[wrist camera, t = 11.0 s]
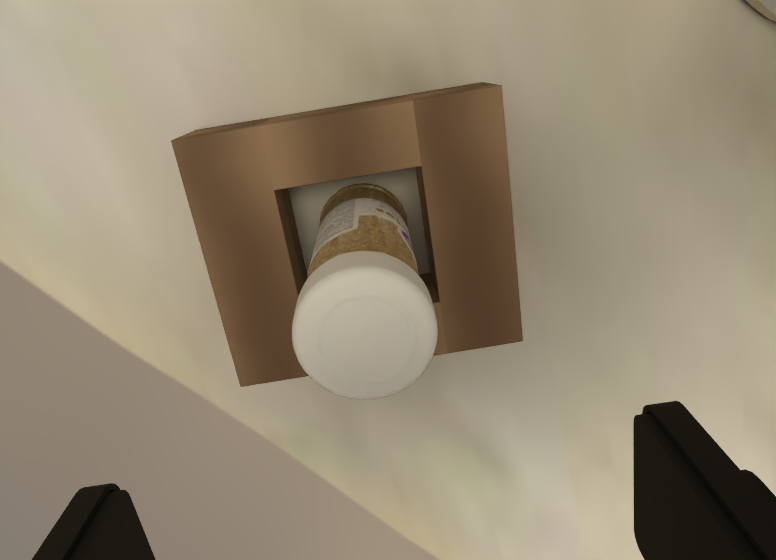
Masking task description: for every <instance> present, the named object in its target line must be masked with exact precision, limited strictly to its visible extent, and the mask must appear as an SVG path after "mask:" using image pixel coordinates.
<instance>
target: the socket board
mask: <svg viewBox="0 0 776 560" xmlns="http://www.w3.org/2000/svg"><path fill="white" fill-rule="evenodd" d="M171 142H172V146H173V149H174V153H175V156H176V160H177V163H178V167H179V170H180V174H181V178H182V181H183V185H184V188H185V192H186V195H187V199H188V202H189V206H190V209H191V213H192V216H193V220H194V224H195V227H196V231H197V234H198V238H199V241H200V245H201V248H202V252H203V255H204V259H205V262H206V266H207V269H208V273H209V277H210V280H211V284H212V287H213V291H214V294H215V298H216V301H217V305H218V308H219V312H220V315H221V319H222V322H223V326H224V330H225V333H226V337H227V340H228V344H229V347H230V351H231V354H232V358H233V361H234V365H235V368H236V372H237V376H238V379H239V383H240V386H241V387H243V386H249V385H255V384H262V383H268V382H274V381H280V380H286V379H292V378H298V377H305V376H309V375H308V374H307V373H306V372H305V371H304V369H303V368H302V366H301V365H300V363H299V361H298V359H297V356H296V353H295V351H294V347H293V342H292V323H293V318H294V312H295V308H296V304H297V300H298V297H299V294H300V292H301V289H302V287H303V285H304V284H305V282H306V280H307V273H306V269H305V264H304V259H303V255H302V250H301V246H300V241H299V237H298V232H297V228H296V223H295V219H294V214H293V209H292V205H291V200H290V196H289V191H288V188H291V187H297V186H303V185H309V184H315V183H321V182H327V181H333V180H339V179H345V178H351V177H357V176H363V175H369V174H375V173H381V172H387V171H393V170H399V169H405V168H411V167H416V174H417V181H418V188H419V196H420V203H421V210H422V217H423V224H424V231H425V239H426V246H427V253H428V260H429V267H430V274H424V275H419V277H420V278H421V279H422V280H423V282H424V283H425V285H426V287H427V289H428V291H429V294H430V297H431V300H432V303H433V306H434V311H435V315H436V320H437V329H438V336H437V343H436V347H435V351H434V354H433V356H434V355H440V354H446V353H452V352H459V351H465V350H471V349H477V348H483V347H489V346H496V345H502V344H508V343H514V342H520V341H523V336H522V324H521V312H520V300H519V288H518V276H517V264H516V252H515V240H514V228H513V216H512V204H511V192H510V180H509V168H508V156H507V144H506V132H505V120H504V108H503V96H502V86H501V85H495V84H490V83H484V82H481V83H475V84H469V85H463V86H457V87H451V88H445V89H439V90H433V91H427V92H421V93H415V94H409V95H403V96H397V97H391V98H385V99H379V100H373V101H367V102H361V103H355V104H349V105H343V106H337V107H331V108H325V109H319V110H313V111H307V112H301V113H295V114H289V115H283V116H277V117H271V118H265V119H259V120H253V121H247V122H241V123H235V124H230V125H224V126H218V127H212V128H206V129H200V130H195V131H193V132H190V133H188V134H186V135H183V136H181V137H179V138H176V139H174V140H172V141H171Z"/></svg>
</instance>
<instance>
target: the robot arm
mask: <svg viewBox="0 0 776 560" xmlns="http://www.w3.org/2000/svg"><path fill="white" fill-rule="evenodd" d="M746 1H747V2H748V3H749V4H750V5H751V6H752V7H753V8H755V9H756V10H757V11H759V12H760V13H762V14H763V15H764V16H766V17H767V18H768V19H770V20H773V21H775V22H776V0H746ZM634 533H635V538H636V542H637V545H638V547H639V550H640V552H641V554H642V556H643V557H644V559H645V560H776V496H775V495H774V494H773V493H772V492H771V491H770V490H769V489H768V488H767V486H766V485H765V484H764V483H763V482H762V481H761V480H760V479H759V478H758V477H757V476H756V475H755V474H754V473H752V472H750V471H748V470H740V469H739V468H738V467H737V466H736V465H735V464H734V462H733V461H732V460H731V459H730V458H729V457H728V456H727V454H726V453H725V452H724V451H723V450H722V449H721V448H720V446H719V445H718V444H717V443H716V442H715V441H714V440H713V439H712V437H711V436H710V435H709V434H708V433H707V432H706V431H705V429H704V428H703V427H702V426H701V425H700V424H699V423H698V421H697V420H696V419H695V418H694V417H693V416H692V415H691V413H690V412H689V411H688V410H687V409H686V408H685V407H684V405H683V404H681V403H680V402H678V401H672V402H665V403H659V404H652V405H646V406H644V408H643V412H642V414H641V415H636V416H635V417H634ZM32 560H155V557H154V555H153V552H152V550H151V547H150V545H149V542H148V540H147V537H146V535H145V532H144V530H143V527H142V525H141V522H140V520H139V517H138V515H137V512H136V510H135V507H134V505H133V503H132V500H131V497H130V496H129V493H128V492H127V491H126V490H120V488H119V487H118V486H117V485H116V484H112V483H111V484H104V485H98V486H91V487H84V488H82V489H80V490H79V491H78V492H77V493H76V494H75V496H74V497H73V498H72V500H71V501H70V503H69V505H68V506H67V508H66V509H65V511H64V512H63V514H62V515H61V517H60V518H59V520H58V521H57V523H56V524H55V526H54V527H53V529H52V530H51V532H50V533H49V535H48V536H47V538H46V539H45V541H44V542H43V544H42V545H41V547H40V548H39V550H38V551H37V553H36V554H35V556H34V557H33V559H32Z"/></svg>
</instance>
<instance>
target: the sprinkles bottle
mask: <svg viewBox="0 0 776 560" xmlns="http://www.w3.org/2000/svg"><path fill="white" fill-rule="evenodd" d="M437 336H438V329H437V320H436V315H435V311H434V306H433V303H432V300H431V297H430V294H429V291H428V289H427V287H426V285H425V283H424V282H423V280H422V279H421V278H420V277H419V275H418V268H417V263H416V259H415V255H414V252H413V248H412V244H411V239H410V234H409V231H408V228H407V217H406V214H405V212H404V210H403V207H402V205H401V204H400V202H399V201H398V200H397V199H396V198H395V197H394V196H393V195H392V194H391V193H390V192H388V191H386V190H385V189H383V188H381V187H379V186H376V185H371V184H356V185H352V186H348V187H346V188H343V189H340V190H339V191H338V192H337V193H336V194H335V195H333V196H332V197H331V198H330V199H329V200H328V202H327V203H326V204H325V206H324V209H323V211H322V213H321V218H320V228H319V230H318V234H317V237H316V242H315V246H314V250H313V253H312V257H311V261H310V265H309V270H308V278H307V280H306V282H305V284H304V285H303V287H302V289H301V292H300V294H299V297H298V300H297V304H296V308H295V312H294V318H293V323H292V342H293V347H294V351H295V353H296V356H297V359H298V361H299V363H300V365H301V366H302V368H303V369H304V371H305V372H306V373H307V374H308V375H309V376H310V377H311V378H312V379H313V380H314V381H315V382H316V383H317V384H319V385H320V386H321V387H323V388H324V389H326V390H328V391H330V392H332V393H334V394H337V395H339V396H343V397H347V398H353V399H376V398H381V397H386V396H389V395H392V394H394V393H397V392H399V391H401V390H402V389H404V388H406V387H407V386H409V385H410V384H411V383H413V382H414V381H415V380H416V379H417V378H418V377H419V376H420V375H421V374H422V373H423V371H424V370H425V369H426V368H427V366H428V364H429V363H430V361H431V359H432V357H433V354H434V351H435V347H436V343H437Z"/></svg>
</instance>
